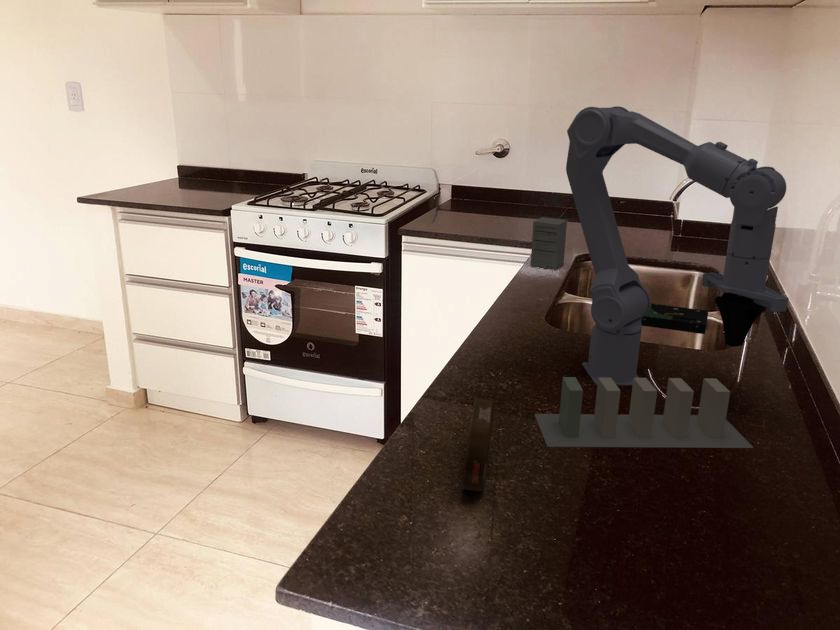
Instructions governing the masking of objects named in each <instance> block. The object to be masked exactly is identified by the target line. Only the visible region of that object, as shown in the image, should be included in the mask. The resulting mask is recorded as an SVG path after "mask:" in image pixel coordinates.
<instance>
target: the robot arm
mask: <svg viewBox="0 0 840 630" xmlns="http://www.w3.org/2000/svg"><path fill="white" fill-rule="evenodd" d="M566 132H567V136H568V137H567V138H568V140H569V142H568V144H569V145H568V151H567V158H566V163H565V164H566V165H565V172H566V176H567V179H568V182H569V186H570V189H571V194H572V197H573V200H574V205H575V207H576V211H577V215H578V219H579V221H580V226H581V228H582V233H583V235H584V240H585V243H586V246H587V250H588V254H589V257H590V261H591V264H592V268H593V271H594V277H593V280H592V283H591V285H590V290H589V291H590V295H591V306H590V307H591V308H590V314H591V318H592V320H593V322H594V325H593V327H592V329H591V331H590V341H589V350H588V351H589V352H588V361H583V362H582V367H583V368H584V370H585V371H586V373H587V374H588V376H589V377H590V378H591V380H592V382H593V383H594V385H596V386H597V385H598V377H605V378H612V380H613V381H614V382H615V384H616V385H617V386H633V378H640V376H639V375H638V374H637V371H638V370H637V369H638V364H639V363H638V362H639V354H640V347H641V337H642V331H643V330H642V329H643V326H642V324H641V320H642V317H644V316H645V315H646V314H647V313H648V311H649V309H650V306H651V303H652V300H651V297H650V294H649V292H648V290H647V289H646V288H645V287H644V286H643V285H642V282H641V280H640V277H639V274H638V272H636V271H635V270H634V269H633V268H632V267H631V266H630V265H629V262H628V260H627V256H626V252H625V249H624V244H623V242H622V238H621V234H620V231H619V227H618V223H617V221H616V216H615V213H614V210H613V206H612V203H611V199H610V195H609V191H608V189H607V188H608V187H607V184H606V181H605V176H604V173H603V172H604V170H605V168H606V166H607V165H608V164H609V162H610V160H611V159H612V157H613V156H614V155H615V154H616V153H617V152H618V151H620V149H622V148H623V147H624V146H625V145H633V144H634V145H635V144H637V145H638V146H642V147H644V148H645V149H647V150H650V151H652V152H654V153H656V154H658V155H660V156H663V157H664V158H667V159H669V160H671V161H674V162H676V163H678V164H680V165H682V166H683V167H684V170H685V173H686V176H687V178H688V179H689V180H692V181H693V182H696V183H697V184H699V185H701V186H703V187H705V188H707V189H709V190H711V191H712V192H715V193H717V194H718V195H720V196H721V197H724V198H726V199H730V200H729V201H730V203H731V205H732V206H733V213H732V220H731V223H730V230H729V236H728V242H727V248H726V250H727V251H726V254H725V261H724V262H725V263H724V267H723V273H722V274H720V273H718V272H703V274H702V281H701V286H703V287H706V288H710V287H711V288H713V289H716V290H717V291H719V292H722V293H723V294H721V295H719V296H715V300H714V303H715V305H716V307H717V309H718V311H719V315H720V317H721V321H722V326H723V332H724V342H725V343H724V345H727V346H729V347H732V348H735V347H742V346H743V344H744V343H745V340H746V338H747V336H748V335H749V334H748V333H749V331H750V330H751V328H752V326H753V325H754V323H755V322H756V320H757V319H758V318H759V316H760V315H761V314H762V313H763V312H764V310H766V309H769V311H770V312H773V313H781V312H786V311H787V310H788V309H787V308H788V304H789V297H788V296H785V295H782V294H780V293H779V292H777V291H775V290H773V288H770V287H768V286H767V280H768V279H767V278H768V274H769V268H770V267H769V266H770V262H771V261H770V260H771V256H772V249H773V245H774V244H773V243H774V238H775V232H776V227H777V225H776V221H777V216H778V215H777V214H778V208H779V207H778V206H777V205H778V204H780V202H781V201H783V199H784V198H785V195H786V193H787V182H786V179H785V178H784V176H783V175H782V173H780V172H779V171H777V170H776V169H775V168H774V167H773V166H759V167H758V164H759V161H758V160H756V159H754V158H749V159H745V158H744V157H742V156H740V155H737V154H736V153H734V152H732V151H730V150H727V148H728V144H726V143H724V142H722V141H717V142H715V143H713V142H711V141H707V142H705V143H702V144H699V145H697V144H696V143H695V144H694V143H693V142H691V141H690V140H688V139H686V138H684V137H683V136H681V135H679V134H677V133H675V132H674V131H672V130H670V129H668V128H666V127H664V126H663V125H661V124H660V123H658V122H656V121H653V120H652V119H650V118H649V117H646V116H645V115H643V114H641V113H639V112H636V111H633V110H632V111H631V110H630V111H629V110H628V109H627V108H625V107H623V106H619V105H617V106H611V107H597V106H587V107H585V108H583V109H581V110H580V111H579V112H577V114H576V115H575V117H574V118H573V120H572V122H571V123H570V125H569V127H568V128H567V130H566Z"/></svg>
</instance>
